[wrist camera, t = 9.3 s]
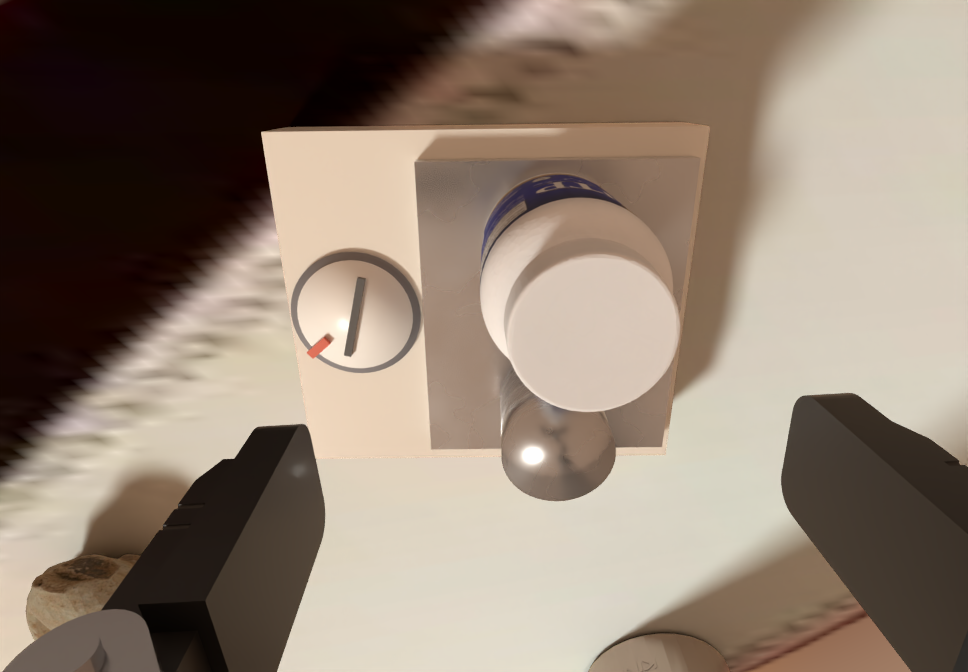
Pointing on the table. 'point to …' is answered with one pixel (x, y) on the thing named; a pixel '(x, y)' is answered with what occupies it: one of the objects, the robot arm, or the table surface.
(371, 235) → the scale housing
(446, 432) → the scale pan
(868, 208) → the table surface
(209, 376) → the table surface
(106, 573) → the sculpture
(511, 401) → the cylinder
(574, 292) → the pill bottle
